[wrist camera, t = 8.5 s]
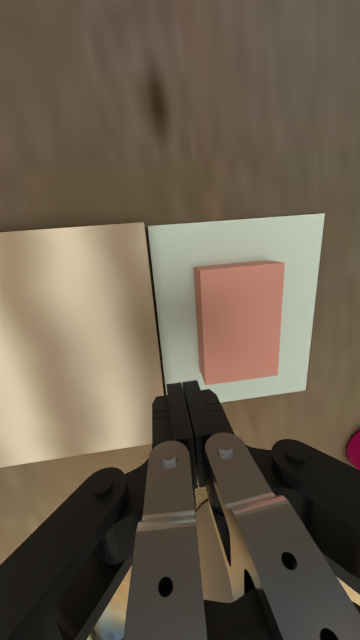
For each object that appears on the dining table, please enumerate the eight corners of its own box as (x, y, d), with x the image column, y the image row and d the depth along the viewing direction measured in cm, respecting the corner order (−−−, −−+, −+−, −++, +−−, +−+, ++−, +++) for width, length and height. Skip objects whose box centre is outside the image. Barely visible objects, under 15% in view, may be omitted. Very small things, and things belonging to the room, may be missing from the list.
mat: (321, 213, 19) (324, 213, 18) (303, 388, 24) (305, 390, 23) (147, 226, 17) (147, 226, 17) (167, 407, 22) (167, 410, 22)
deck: (144, 226, 17) (143, 222, 14) (165, 407, 22) (168, 440, 19) (-63, 241, 16) (-127, 241, 12) (9, 430, 21) (-22, 470, 17)
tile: (200, 270, 16) (193, 266, 18) (205, 385, 19) (199, 369, 21) (284, 262, 16) (267, 260, 19) (277, 375, 19) (263, 360, 22)
